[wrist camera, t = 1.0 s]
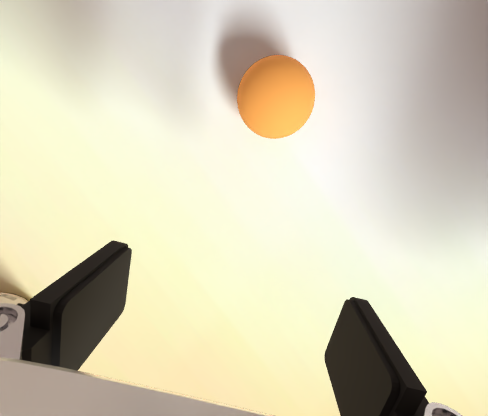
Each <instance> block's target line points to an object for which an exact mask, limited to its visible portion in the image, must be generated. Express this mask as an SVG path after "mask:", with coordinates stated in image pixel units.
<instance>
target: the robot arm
mask: <svg viewBox="0 0 488 416" xmlns="http://www.w3.org/2000/svg"><path fill="white" fill-rule="evenodd" d="M131 253H132V250H131V248H128V245H127V244H125V243H121V242H117V241H111V242H109V243H108V244H107V245H105V246H104V247H103V248H101V249H100V250H98V251H97V252H96V253H94V254H93V255H91V256H90V257H89V258H87V259H86V260H84V261H83V262H82V263H80V264H79V265H77V266H76V267H75V268H73V269H72V270H70V271H69V272H68V273H66V274H65V275H63V276H62V277H61V278H59V279H58V280H56V281H55V282H54V283H52V284H51V285H49V286H48V287H47V288H45V289H44V290H42V291H41V292H40V293H38V294H37V295H36V296H34V297H33V298H31V299H30V301H28V302H27V303H25V304H24V305H23V306H21V307H20V306H18V305H15V304H9V303H0V416H274V415H270V414H265V413H261V412H257V411H252V410H248V409H244V408H240V407H235V406H231V405H227V404H222V403H218V402H214V401H209V400H205V399H201V398H196V397H192V396H188V395H183V394H179V393H175V392H170V391H166V390H161V389H157V388H152V387H148V386H143V385H139V384H135V383H130V382H126V381H121V380H117V379H112V378H108V377H103V376H99V375H94V374H90V373H85V372H81V371H78V369H79V368H80V367H81V366H82V364H83V363H84V362H85V360H86V359H87V358H88V356H89V355H90V354H91V353H92V351H93V350H94V349H95V347H96V346H97V345H98V344H99V342H100V341H101V340H102V338H103V337H104V336H105V334H106V333H107V332H108V331H109V329H110V328H111V327H112V325H113V324H114V323H115V322H116V320H117V319H118V318H119V316H120V315H121V314H122V312H123V310H124V307H125V302H126V294H127V286H128V277H129V269H130V261H131ZM325 363H326V367H327V370H328V374H329V377H330V380H331V384H332V387H333V391H334V394H335V398H336V401H337V405H338V408H339V411H340V415H341V416H462V415H461V414H459V413H458V412H457V411H455V410H453V409H451V408H450V407H448V406H445V405H443V404H440V403H433V402H432V403H430V404H429V402H428V401H427V399H426V398H425V395H426V393H427V391H426V389H425V388H424V386H423V385H422V383H421V382H420V380H419V379H418V377H417V376H416V374H415V373H414V371H413V370H412V368H411V366H410V365H409V363H408V362H407V360H406V359H405V357H404V356H403V354H402V353H401V351H400V350H399V348H398V347H397V345H396V344H395V342H394V340H393V339H392V337H391V336H390V334H389V333H388V331H387V330H386V328H385V327H384V325H383V324H382V322H381V321H380V319H379V317H378V316H377V314H376V313H375V311H374V310H373V308H372V307H371V305H370V304H369V302H368V301H367V300H363V299H359V298H355V297H352V298H350V300H346V301H345V303H344V305H343V308H342V310H341V313H340V315H339V318H338V320H337V323H336V326H335V328H334V331H333V333H332V336H331V338H330V341H329V343H328V346H327V349H326V351H325Z"/></svg>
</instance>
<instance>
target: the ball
mask: <svg viewBox="0 0 488 416" xmlns="http://www.w3.org/2000/svg"><path fill="white" fill-rule="evenodd" d="M314 101H315V89H314V84H313V80H312V78H311V76H310V74H309V72H308V71H307V69H306V68H305V67H304V66H303V65H302V64H301V63H300V62H298V61H297V60H295V59H293V58H291V57H288V56H284V55H272V56H268V57H265V58H262V59H260V60H258V61H257V62H255V63H254V64H253V65H252V66H251V67H250V68H249V69H248V70H247V71H246V73H245V74H244V76H243V77H242V79H241V82H240V84H239V88H238V94H237V103H238V109H239V113H240V115H241V117H242V119H243V121H244V123H245V124H246V125H247V126H248V128H249V129H251V130H252V131H253V132H254V133H256V134H258V135H260V136H262V137H266V138H273V139H276V138H283V137H286V136H289V135H291V134H293V133H295V132H296V131H297V130H299V129H300V128H301V127H302V126H303V125H304V124H305V123H306V121H307V120H308V118H309V116H310V114H311V112H312V109H313V106H314Z"/></svg>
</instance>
